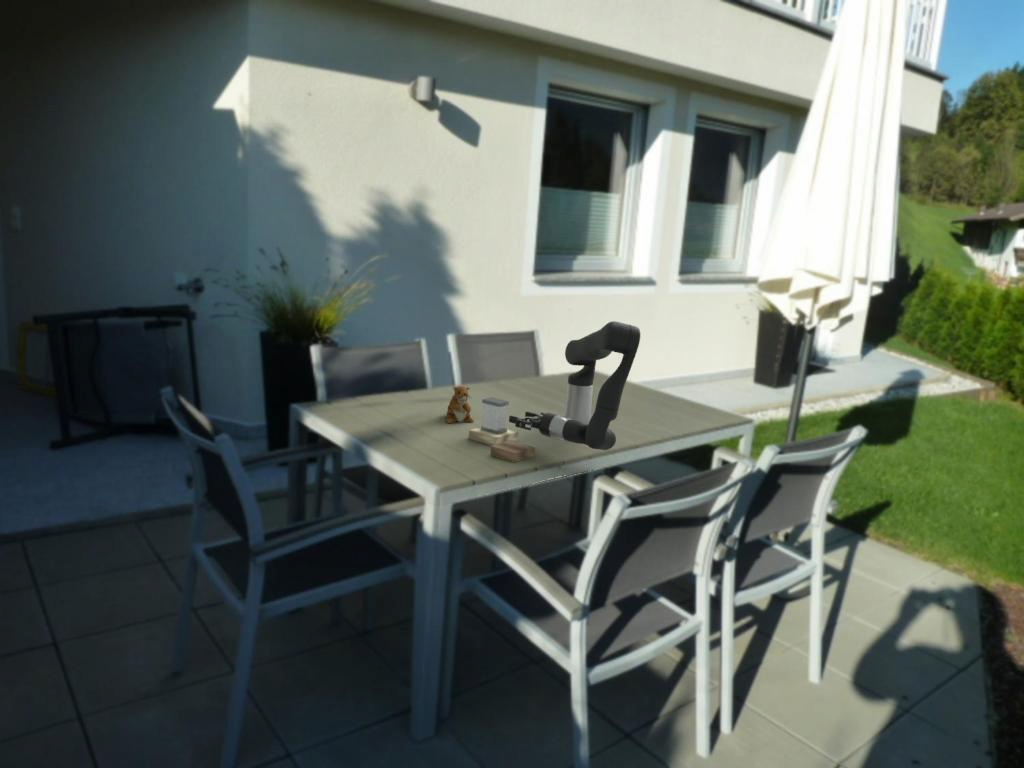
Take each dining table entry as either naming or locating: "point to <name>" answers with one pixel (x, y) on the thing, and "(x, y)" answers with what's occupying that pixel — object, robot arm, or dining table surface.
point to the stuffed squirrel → (459, 406)
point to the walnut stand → (512, 451)
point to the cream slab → (492, 436)
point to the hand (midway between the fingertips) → (517, 416)
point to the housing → (494, 415)
